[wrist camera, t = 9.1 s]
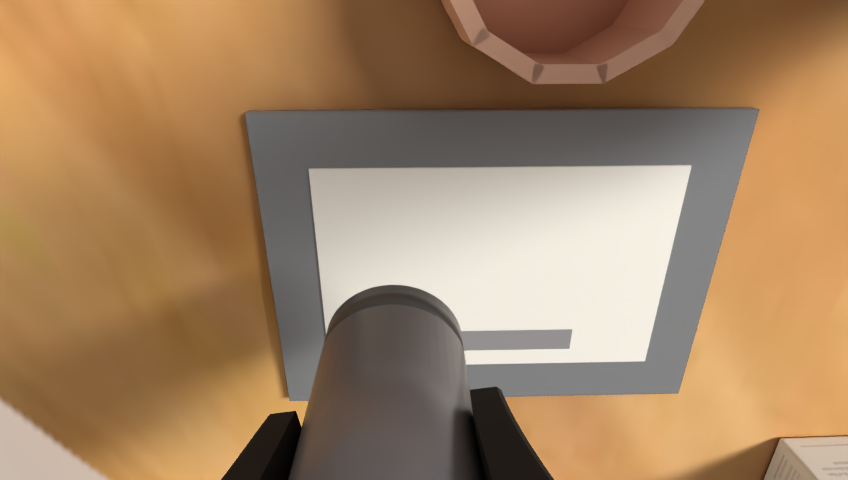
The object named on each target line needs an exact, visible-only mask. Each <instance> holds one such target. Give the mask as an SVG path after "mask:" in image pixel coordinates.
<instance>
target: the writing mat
mask: <svg viewBox="0 0 848 480" xmlns="http://www.w3.org/2000/svg"><path fill="white" fill-rule="evenodd" d="M758 113H759V109H756V108H753V107H733V108H582V109H431V110H280V111H247V112H245V118H246V124H247V130H248V137H249V143H250V150H251V156H252V162H253V169H254V175H255V182H256V188H257V195H258V201H259V207H260V214H261V220H262V227H263V233H264V239H265V246H266V252H267V259H268V265H269V272H270V278H271V284H272V291H273V297H274V304H275V310H276V316H277V323H278V329H279V336H280V342H281V349H282V355H283V361H284V368H285V374H286V381H287V387H288V393H289V400H290V401H309V398H310V394H311V390H312V387H313V383H314V379H315V375H316V371H317V368H318V364H319V360H320V356H321V352H322V348H323V345H324V341H325V337H326V333H327V329H328V326H329V323H330V321H331V318H332V316H333V315H334V313H335V312H336V310H337V309H338V308H339V307H340V306H341V305H342V304H343V303H344V302H345V301H346V300H348V299H349V298H350V297H352V296H354V295H355V294H357V293H359V292H361V291H363V290H366V289H369V288H372V287H377V286H383V285H404V286H410V287H414V288H418V289H421V290H423V291H426V292H428V293H430V294H432V295H434V296H435V297H437V298H438V299H440V300H441V301H442V302H443V303H444V304H446V305H447V306H448V307H449V309H450V310H451V311H452V312H453V314H454V315H455V317H456V319H457V321H458V323H459V326H460V329H461V334H462V340H463V347H464V354H465V360H466V367H467V374H468V380H469V387H470V390H472V389H480V388H488V387H498V388H499V389H501V390H502V393H503V396H504V397H521V396H573V395H624V394H676V393H679V389H680V386H681V382H682V379H683V375H684V372H685V368H686V365H687V361H688V358H689V354H690V351H691V347H692V344H693V340H694V337H695V333H696V330H697V326H698V323H699V319H700V316H701V312H702V309H703V305H704V302H705V298H706V295H707V291H708V288H709V284H710V281H711V277H712V274H713V270H714V267H715V263H716V260H717V256H718V253H719V249H720V246H721V242H722V239H723V235H724V232H725V228H726V225H727V221H728V218H729V214H730V211H731V207H732V204H733V200H734V197H735V193H736V190H737V186H738V183H739V179H740V176H741V172H742V169H743V165H744V162H745V158H746V155H747V151H748V148H749V144H750V141H751V137H752V134H753V130H754V127H755V123H756V120H757V116H758Z"/></svg>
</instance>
